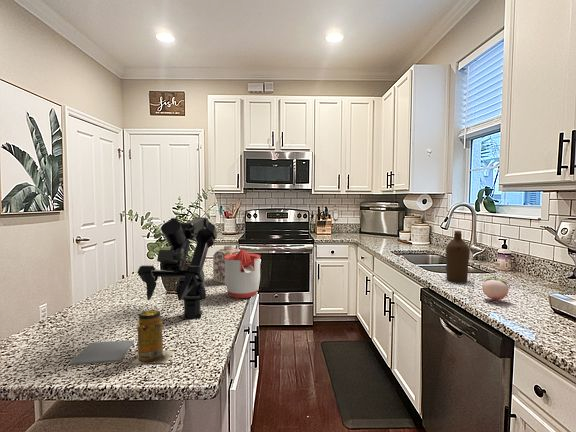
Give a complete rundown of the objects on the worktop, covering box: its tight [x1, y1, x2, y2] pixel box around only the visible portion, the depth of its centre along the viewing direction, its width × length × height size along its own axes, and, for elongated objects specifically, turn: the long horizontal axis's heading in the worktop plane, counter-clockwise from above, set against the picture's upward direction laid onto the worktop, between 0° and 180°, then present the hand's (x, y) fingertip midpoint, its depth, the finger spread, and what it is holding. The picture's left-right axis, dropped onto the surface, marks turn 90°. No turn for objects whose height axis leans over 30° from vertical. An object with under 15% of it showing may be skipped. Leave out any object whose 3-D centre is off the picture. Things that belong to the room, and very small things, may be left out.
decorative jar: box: [212, 244, 241, 285], centre depth 170 cm, size 12×12×18 cm
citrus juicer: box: [224, 248, 261, 299], centre depth 145 cm, size 16×17×20 cm
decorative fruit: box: [481, 276, 510, 302], centre depth 136 cm, size 9×8×10 cm
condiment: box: [131, 309, 175, 365], centre depth 89 cm, size 7×8×12 cm
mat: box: [69, 339, 135, 366], centre depth 92 cm, size 12×12×1 cm
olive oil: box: [445, 230, 470, 283], centre depth 170 cm, size 11×11×25 cm
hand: (164, 299), depth 96 cm, fingers open, 9 cm apart
